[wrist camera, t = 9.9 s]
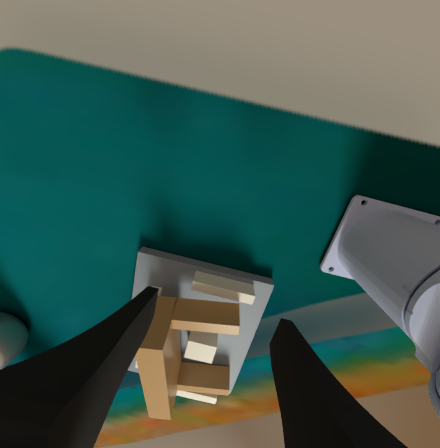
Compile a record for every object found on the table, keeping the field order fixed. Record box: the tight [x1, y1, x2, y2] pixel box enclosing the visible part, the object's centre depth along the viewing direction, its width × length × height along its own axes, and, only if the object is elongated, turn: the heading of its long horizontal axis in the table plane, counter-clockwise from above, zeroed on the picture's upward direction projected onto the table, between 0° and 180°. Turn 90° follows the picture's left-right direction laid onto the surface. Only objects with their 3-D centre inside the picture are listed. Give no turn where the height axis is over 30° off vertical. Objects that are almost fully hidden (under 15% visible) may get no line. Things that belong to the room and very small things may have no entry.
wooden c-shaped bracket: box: [135, 296, 240, 420], centre depth 21 cm, size 8×12×5 cm, turn 176°
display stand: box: [128, 247, 274, 404], centre depth 23 cm, size 14×17×3 cm
